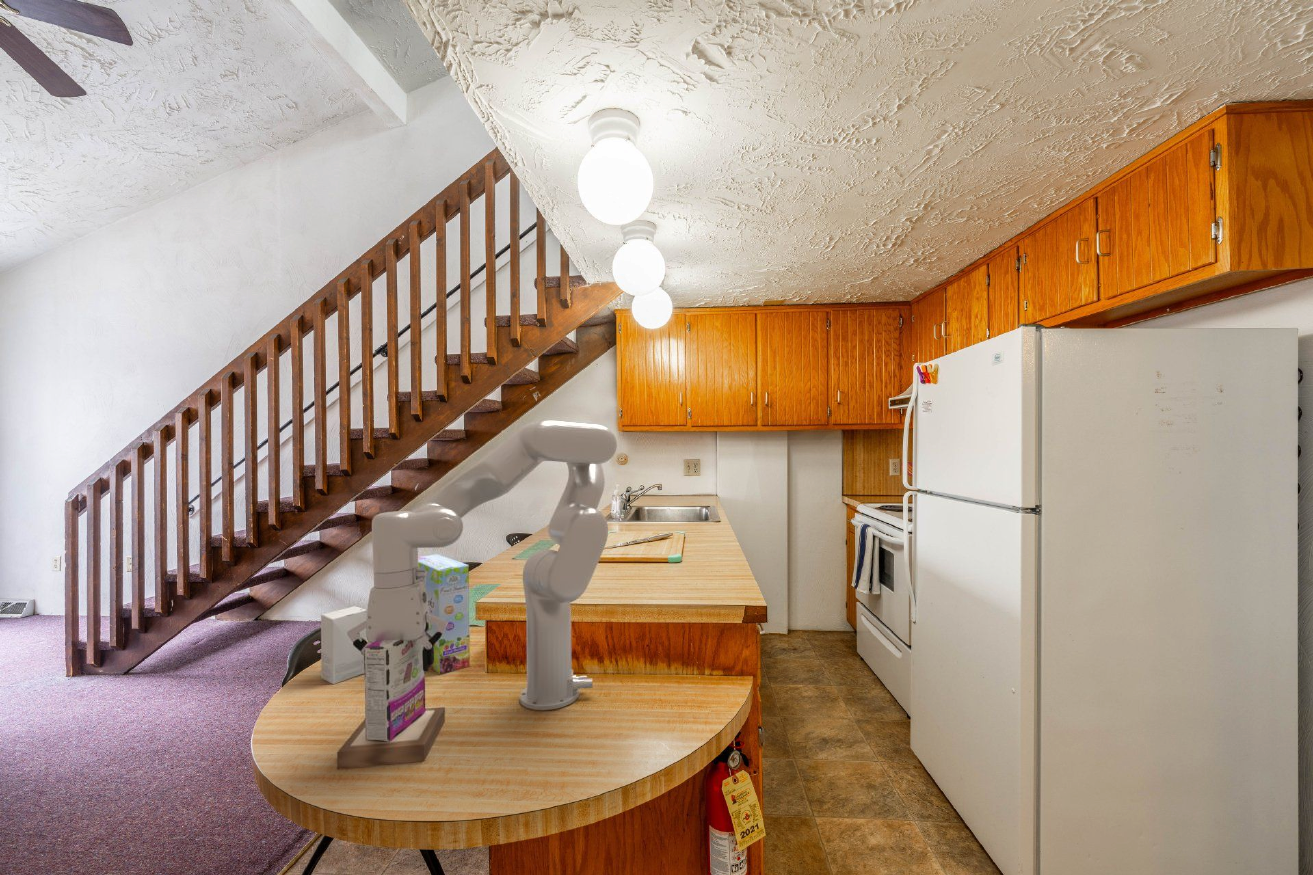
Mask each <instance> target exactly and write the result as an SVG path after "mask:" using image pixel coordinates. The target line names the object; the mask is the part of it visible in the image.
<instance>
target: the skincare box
mask: <svg viewBox="0 0 1313 875" xmlns="http://www.w3.org/2000/svg"><path fill="white" fill-rule="evenodd" d="M365 620H367V609H365V608H362V607H359V606H355V605H354V606H350V607H346V608H341V609H338V610H334V611H330V612H326V613H322V614H320V641H321V644H320V647H321V648H320V649H321V650H320V651H321V652H320V655H321V656H320V658H321V660H320V661H321V664H320V666H321V673H320V676H321V679H322V680H324V681H326V682H328V683H330V684H331V685H335V684H338V683H341V682H344V681H346V680H349V679H353V678H356V677H358V676H361V675H365V670H364V655H362V654H361V651H359V650H358V649H357V648H356V647H354V646H353V642H352V641H351V640H350V638H349V636H348V635H347V632H348V631H349V630H350V629H352V628H354V627H355V626H357V625H359V624H360V623H362V622H364V621H365ZM359 634H360V636H361V637H362V638H363V639H364V640H365V641H367V642H368V640H367V634H366V629H364V630H362V631H361V632H359Z"/></svg>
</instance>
